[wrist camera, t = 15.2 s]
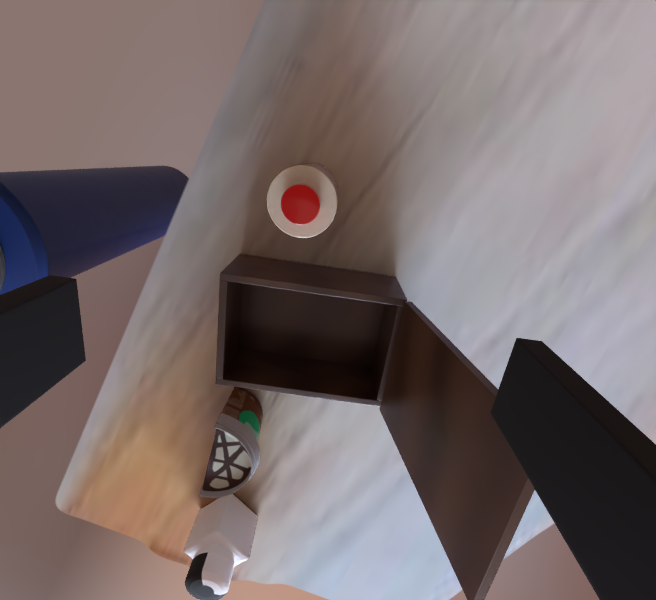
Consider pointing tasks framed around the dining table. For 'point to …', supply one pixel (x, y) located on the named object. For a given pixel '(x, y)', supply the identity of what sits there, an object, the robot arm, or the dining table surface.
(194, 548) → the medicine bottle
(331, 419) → the dining table surface
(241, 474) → the food container
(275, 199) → the bottle
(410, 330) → the lid
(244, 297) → the open box
